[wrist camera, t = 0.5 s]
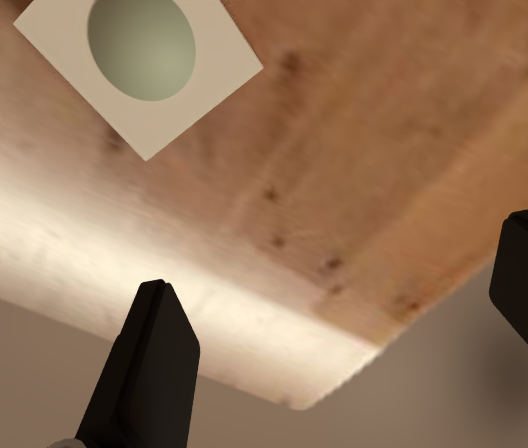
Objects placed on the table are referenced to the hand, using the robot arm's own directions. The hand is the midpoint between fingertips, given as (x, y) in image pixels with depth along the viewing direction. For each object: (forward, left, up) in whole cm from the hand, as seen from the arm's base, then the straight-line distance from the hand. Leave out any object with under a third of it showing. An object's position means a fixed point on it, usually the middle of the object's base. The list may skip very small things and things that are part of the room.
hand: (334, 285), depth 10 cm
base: (+7, -10, -29) cm, 31 cm away
